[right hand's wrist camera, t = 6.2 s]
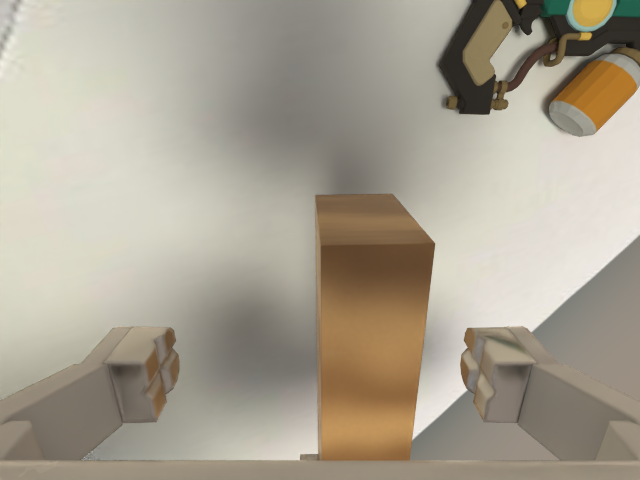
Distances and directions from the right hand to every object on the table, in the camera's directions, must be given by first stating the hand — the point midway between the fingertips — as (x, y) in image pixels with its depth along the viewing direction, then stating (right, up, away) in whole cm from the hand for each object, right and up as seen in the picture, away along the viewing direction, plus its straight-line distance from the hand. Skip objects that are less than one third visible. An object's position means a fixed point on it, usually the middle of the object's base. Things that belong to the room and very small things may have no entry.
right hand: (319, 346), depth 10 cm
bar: (+2, -5, +17) cm, 18 cm away
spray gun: (+18, +19, +20) cm, 33 cm away
